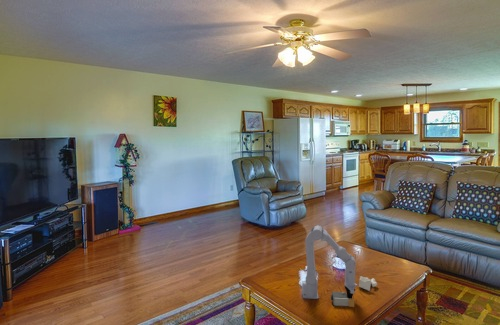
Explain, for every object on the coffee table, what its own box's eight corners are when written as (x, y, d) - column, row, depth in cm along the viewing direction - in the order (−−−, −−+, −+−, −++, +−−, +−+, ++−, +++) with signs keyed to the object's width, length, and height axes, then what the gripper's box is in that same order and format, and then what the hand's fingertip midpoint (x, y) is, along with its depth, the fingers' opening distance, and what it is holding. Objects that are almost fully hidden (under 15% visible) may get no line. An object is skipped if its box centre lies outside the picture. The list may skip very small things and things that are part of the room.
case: (331, 304, 177) (331, 295, 176) (330, 299, 183) (330, 290, 182) (347, 305, 176) (347, 296, 175) (345, 299, 182) (345, 291, 181)
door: (333, 306, 175) (333, 298, 174) (333, 304, 176) (333, 297, 176) (354, 307, 174) (354, 299, 173) (353, 305, 175) (353, 298, 174)
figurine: (369, 281, 188) (381, 277, 197) (356, 275, 195) (367, 273, 205) (368, 292, 188) (379, 289, 197) (354, 287, 195) (366, 283, 204)
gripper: (360, 283, 171) (359, 305, 172) (354, 271, 185) (353, 292, 186) (347, 282, 171) (346, 305, 173) (342, 271, 186) (342, 292, 187)
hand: (349, 298), depth 180 cm, fingers closed
